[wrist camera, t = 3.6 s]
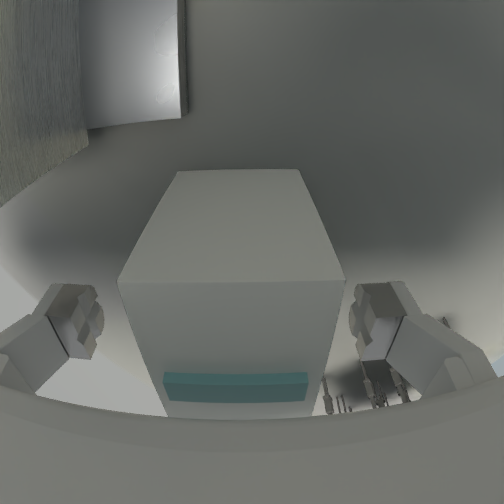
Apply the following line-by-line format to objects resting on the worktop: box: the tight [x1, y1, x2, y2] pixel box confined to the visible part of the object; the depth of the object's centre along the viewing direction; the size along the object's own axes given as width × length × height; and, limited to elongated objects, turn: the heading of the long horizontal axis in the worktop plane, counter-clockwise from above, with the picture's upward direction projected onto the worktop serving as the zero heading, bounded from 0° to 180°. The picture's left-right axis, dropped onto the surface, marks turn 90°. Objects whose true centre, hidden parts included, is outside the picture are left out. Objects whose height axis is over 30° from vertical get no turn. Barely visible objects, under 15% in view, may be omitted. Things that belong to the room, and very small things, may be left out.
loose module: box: [117, 169, 346, 420], centre depth 9 cm, size 4×6×6 cm, turn 0°
